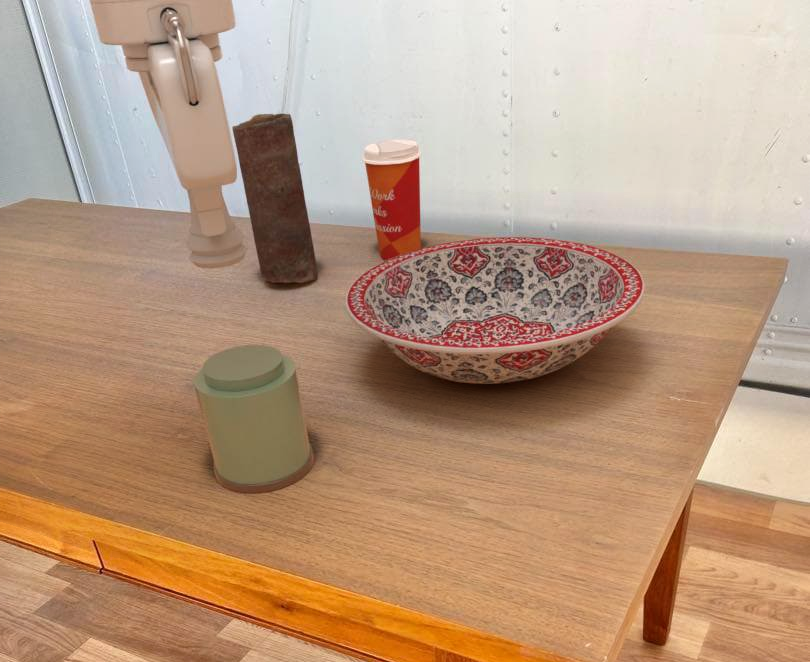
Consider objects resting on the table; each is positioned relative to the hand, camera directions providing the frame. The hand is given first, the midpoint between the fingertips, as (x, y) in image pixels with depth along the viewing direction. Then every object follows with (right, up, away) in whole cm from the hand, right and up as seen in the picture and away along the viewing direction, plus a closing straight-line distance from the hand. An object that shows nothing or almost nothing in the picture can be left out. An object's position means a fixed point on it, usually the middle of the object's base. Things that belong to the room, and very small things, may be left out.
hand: (210, 224), depth 63 cm
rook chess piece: (0, -2, +2) cm, 3 cm away
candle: (-1, +11, +50) cm, 51 cm away
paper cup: (+14, +16, +54) cm, 58 cm away
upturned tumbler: (+2, -17, +12) cm, 21 cm away
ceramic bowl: (+24, -5, +26) cm, 35 cm away
